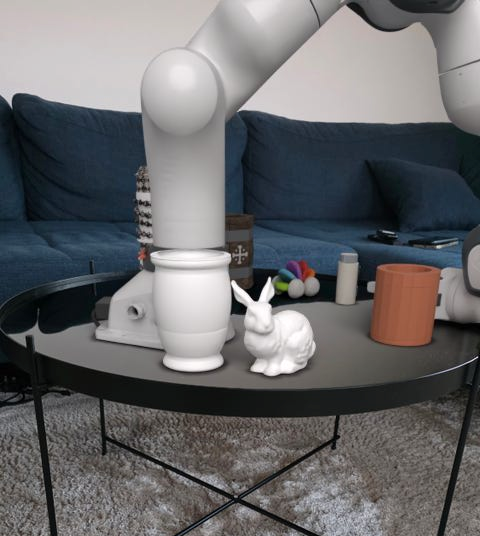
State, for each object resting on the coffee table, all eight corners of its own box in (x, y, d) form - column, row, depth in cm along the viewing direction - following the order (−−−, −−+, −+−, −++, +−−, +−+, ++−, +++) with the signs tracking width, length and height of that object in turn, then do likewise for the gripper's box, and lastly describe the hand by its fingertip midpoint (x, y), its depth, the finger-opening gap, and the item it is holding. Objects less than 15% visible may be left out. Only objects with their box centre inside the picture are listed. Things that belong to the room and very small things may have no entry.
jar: (140, 368, 81) (133, 255, 75) (181, 349, 89) (178, 245, 83) (207, 380, 76) (205, 261, 70) (244, 359, 85) (245, 251, 79)
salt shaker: (334, 304, 118) (337, 255, 115) (336, 299, 122) (339, 252, 118) (354, 305, 118) (358, 256, 114) (355, 301, 121) (360, 253, 117)
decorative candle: (186, 305, 116) (182, 166, 106) (138, 306, 115) (130, 165, 105) (183, 295, 125) (179, 165, 114) (138, 296, 123) (131, 165, 113)
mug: (247, 279, 142) (248, 213, 136) (260, 290, 130) (261, 218, 124) (165, 281, 139) (162, 213, 133) (170, 293, 127) (167, 219, 121)
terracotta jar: (368, 343, 93) (375, 272, 88) (371, 328, 101) (378, 262, 97) (432, 348, 91) (442, 275, 86) (429, 332, 99) (439, 265, 95)
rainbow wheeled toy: (325, 296, 125) (327, 261, 122) (289, 301, 120) (290, 265, 117) (299, 289, 131) (301, 255, 128) (264, 294, 126) (265, 259, 123)
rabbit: (262, 383, 76) (264, 289, 71) (219, 365, 82) (218, 277, 78) (329, 366, 82) (335, 278, 78) (284, 350, 89) (288, 268, 84)
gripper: (485, 269, 107) (419, 260, 116) (420, 282, 95) (352, 271, 104) (479, 304, 109) (415, 292, 119) (415, 321, 97) (349, 307, 107)
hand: (385, 282), depth 111 cm, fingers open, 8 cm apart
